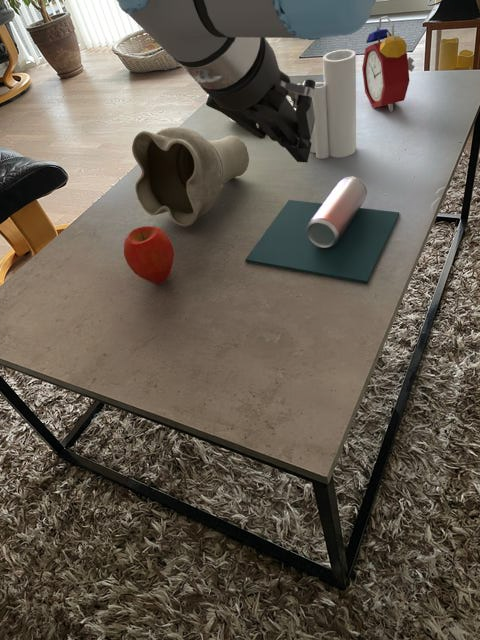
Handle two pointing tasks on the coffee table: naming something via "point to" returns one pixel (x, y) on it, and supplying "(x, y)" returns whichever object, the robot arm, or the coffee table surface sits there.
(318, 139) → the vase
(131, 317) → the coffee table surface
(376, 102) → the alarm clock
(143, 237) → the apple
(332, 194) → the beverage can
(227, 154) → the vase
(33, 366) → the coffee table surface
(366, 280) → the mat
